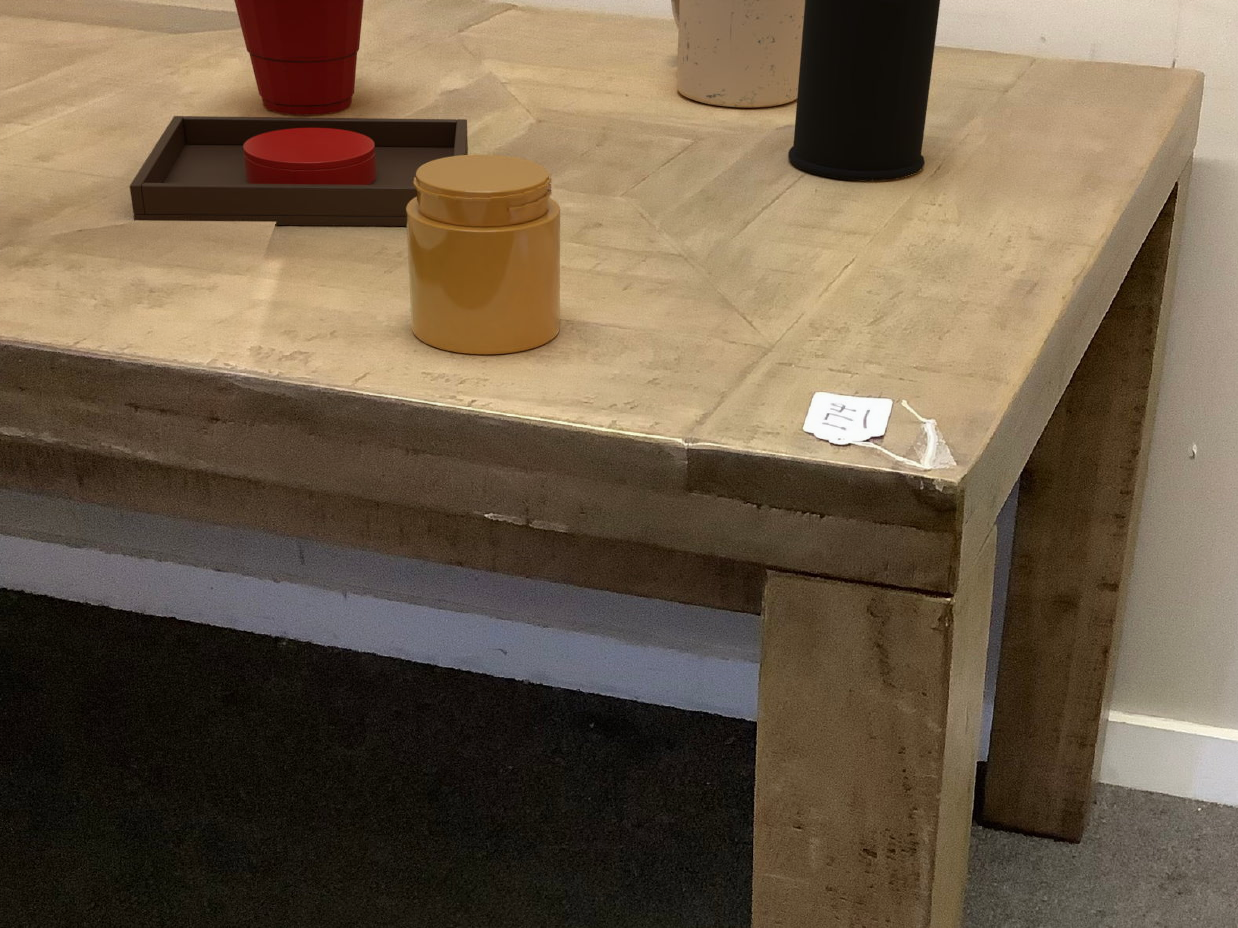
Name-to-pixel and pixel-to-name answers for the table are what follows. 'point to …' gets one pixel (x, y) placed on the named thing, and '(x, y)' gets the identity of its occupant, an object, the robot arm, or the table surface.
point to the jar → (484, 255)
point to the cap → (310, 157)
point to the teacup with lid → (739, 51)
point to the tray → (219, 191)
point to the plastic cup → (303, 52)
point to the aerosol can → (864, 87)
